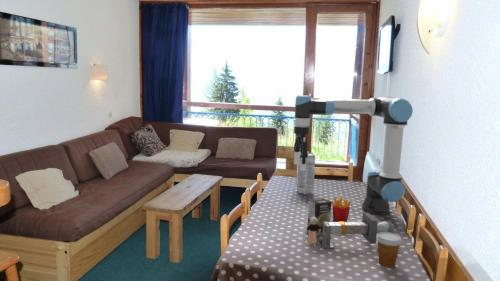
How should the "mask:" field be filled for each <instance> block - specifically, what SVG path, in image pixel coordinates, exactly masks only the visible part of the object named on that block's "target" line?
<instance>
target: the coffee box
mask: <svg viewBox="0 0 500 281" xmlns="http://www.w3.org/2000/svg"><path fill="white" fill-rule="evenodd" d="M331 201H332V200H329V199H326V198H316V199H310V200H309V199H308V208H307V209H308V211H307V225H306V228H307V227H308V226H309V225H310V224H312V223H311V221H310V219H311V217H316V218H317V219H318V221H317V223H316V224H317V225H319V226H320V230H321V232H319V230H318V229H317V233H316V237H320V236H323V222H331V216H332V214H331V212H332V202H331ZM309 231H310V230H308V232H307V234H309Z"/></svg>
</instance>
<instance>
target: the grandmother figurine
mask: <svg viewBox="0 0 500 281" xmlns="http://www.w3.org/2000/svg"><path fill="white" fill-rule="evenodd" d="M310 221H311V223H312V224H310V225H309V226H308V227H307V226H306V229H305V230H304V233H305V234H308V236H307V242H306V244H308V246H312V245H313V244H316V245H317V236H316V233H317V229H318V230H319V232H321V230H320V226H319V225H317V224H316V223H317V221H318V219H317V218H316V217H311V219H310ZM308 230H310V231H309V233H308Z"/></svg>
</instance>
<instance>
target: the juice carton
mask: <svg viewBox="0 0 500 281" xmlns="http://www.w3.org/2000/svg"><path fill="white" fill-rule="evenodd" d="M307 152H308V157H307V158H306V170H300V160H299V164H296V165H297V167H296V168H297V169H296V170H297V171H296V190H297V193H298V194H299V193H305V194H304V195H312V194H313V191H314V184H315V170H316V167H315V165H316V156H315V154H314V153H313V152H309V151H308V150H307ZM300 156H301V152H300ZM300 159H301V158H300Z"/></svg>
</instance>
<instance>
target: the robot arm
mask: <svg viewBox="0 0 500 281" xmlns="http://www.w3.org/2000/svg"><path fill="white" fill-rule="evenodd" d="M294 106H295V107H294V109H295V110H294V119H293V122H294V127H293V134H294V135H295V138H294V139H295V140H294V144H293V151H294V156H293V157H294V158H293V165H297V164H299V160H300V170H306V158H307V157H308V153H309V152H307V151H308V137H306V135H309V134H310V126H311V125H310V123H311V116H313V115H317V116H331V115H333V114H364V115H365V114H368V115H369V116H372V117H373V116H374V117H380V118H383V125H384V126H385V134H384V147H383V148H384V149H383V157H382V158H383V159H382V168H381V170H380V169H379V170H378V169H372V170H369V171H368V173H367V179H366V191H365V192H366V193H365V197H364V199H363V202H362V204H361V210H362V211H363V212H368V213H369V214H375V215H386V214H389V213H390V209H391V207H390V203H395V202H397V201H398V202H399V200H401V199H402V198H403V196H404V195H405V186H404V184H403V183H402V180H403V175H402V174H401V173H400V169H401V159H402V149H403V148H402V146H403V136H404V128H405V127H407V126H408V121H409V120H410V118H411V117H412V116H413V113H414V112H413V111H414V110H413V106H412V104H411V102H410V101H408V100H407V99H405V98H402V97H395V96H393V97H392V96H385V97H384V96H383V97H371V98H369V99H359V98H358V99H354V98H352V99H351V98H347V99H346V98H318V97H311V96H310V95H302V94H300V95H297V96H296V98H295V104H294ZM300 153H301V156H300ZM300 158H301V159H300Z"/></svg>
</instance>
